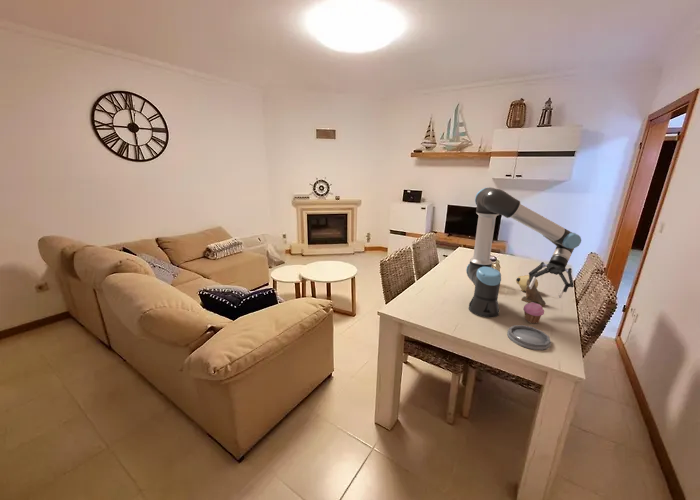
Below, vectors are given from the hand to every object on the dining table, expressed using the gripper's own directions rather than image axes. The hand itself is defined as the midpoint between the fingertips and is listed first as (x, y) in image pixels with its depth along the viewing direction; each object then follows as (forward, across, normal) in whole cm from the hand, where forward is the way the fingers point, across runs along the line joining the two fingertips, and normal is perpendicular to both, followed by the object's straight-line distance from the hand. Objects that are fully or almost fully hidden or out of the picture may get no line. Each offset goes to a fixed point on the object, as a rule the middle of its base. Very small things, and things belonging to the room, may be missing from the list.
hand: (544, 292), depth 150 cm
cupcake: (+17, 0, -3) cm, 17 cm away
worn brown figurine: (-1, +8, -20) cm, 22 cm away
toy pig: (-11, +18, -31) cm, 38 cm away
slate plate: (+30, -5, +10) cm, 32 cm away
